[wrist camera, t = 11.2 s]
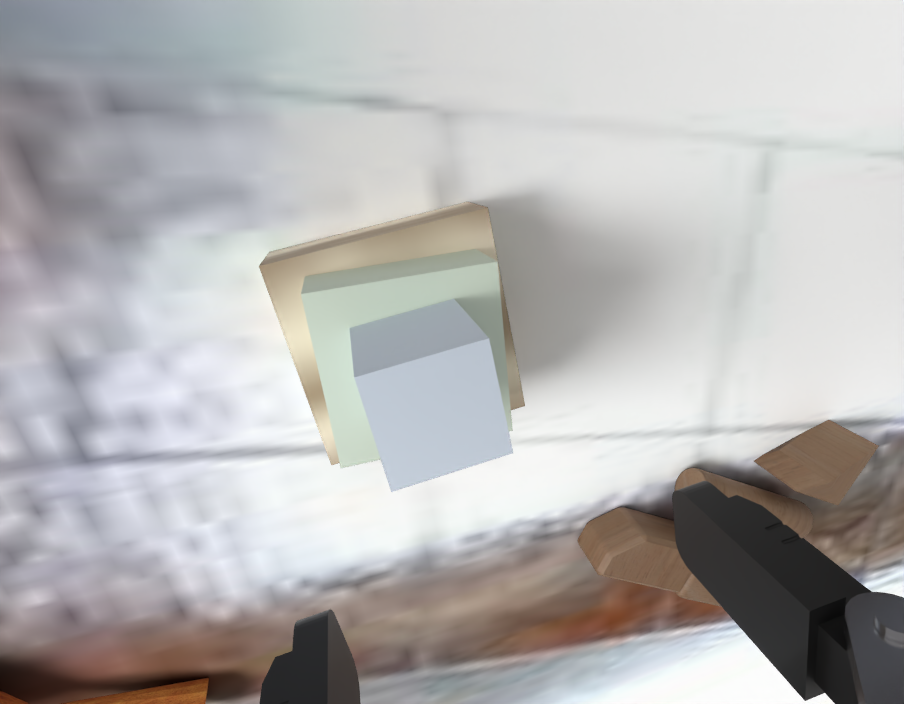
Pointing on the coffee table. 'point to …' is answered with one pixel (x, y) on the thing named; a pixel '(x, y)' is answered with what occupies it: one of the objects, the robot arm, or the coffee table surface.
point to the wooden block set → (794, 463)
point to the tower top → (383, 295)
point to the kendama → (143, 695)
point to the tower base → (366, 248)
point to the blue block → (429, 393)
